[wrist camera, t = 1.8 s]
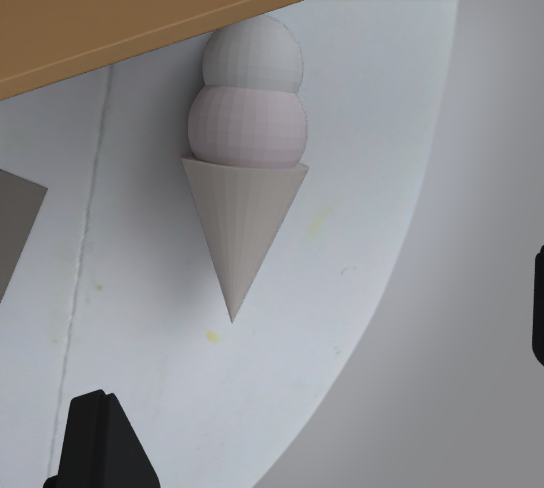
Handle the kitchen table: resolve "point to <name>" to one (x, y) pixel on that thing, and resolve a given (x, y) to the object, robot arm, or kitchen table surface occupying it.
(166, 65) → the kitchen table surface
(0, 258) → the platform
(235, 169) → the ice cream cone
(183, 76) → the kitchen table surface
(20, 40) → the flap
